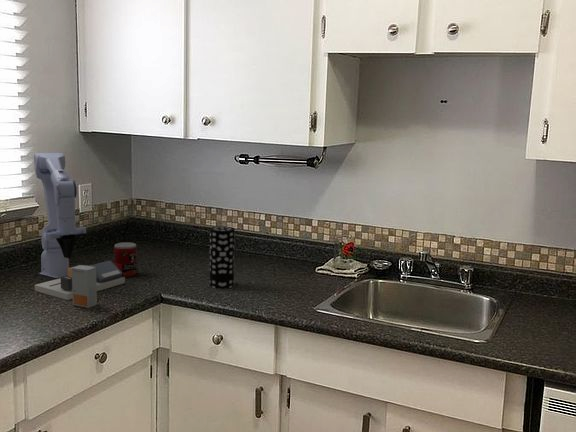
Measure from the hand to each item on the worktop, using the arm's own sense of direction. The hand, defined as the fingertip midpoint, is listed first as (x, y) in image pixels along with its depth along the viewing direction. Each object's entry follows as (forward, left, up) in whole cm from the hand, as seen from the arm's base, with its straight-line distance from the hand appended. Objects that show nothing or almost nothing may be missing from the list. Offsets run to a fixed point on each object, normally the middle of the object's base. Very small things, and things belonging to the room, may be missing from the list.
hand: (67, 257), depth 206 cm
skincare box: (+20, -10, -10) cm, 25 cm away
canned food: (+4, +22, -10) cm, 25 cm away
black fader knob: (+8, -7, -8) cm, 14 cm away
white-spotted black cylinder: (+40, +32, -10) cm, 52 cm away
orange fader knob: (+1, +2, -8) cm, 8 cm away
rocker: (+7, +9, -5) cm, 13 cm away
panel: (+4, +2, -10) cm, 11 cm away
